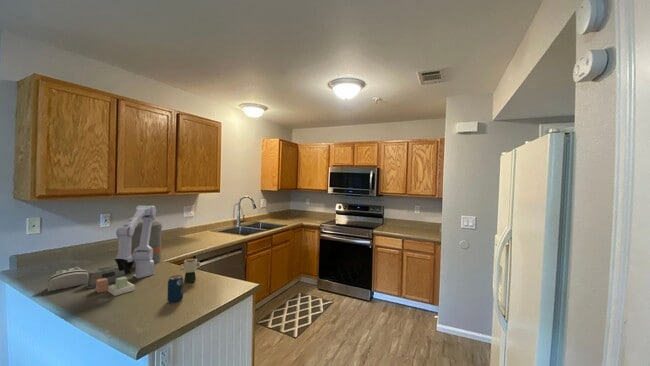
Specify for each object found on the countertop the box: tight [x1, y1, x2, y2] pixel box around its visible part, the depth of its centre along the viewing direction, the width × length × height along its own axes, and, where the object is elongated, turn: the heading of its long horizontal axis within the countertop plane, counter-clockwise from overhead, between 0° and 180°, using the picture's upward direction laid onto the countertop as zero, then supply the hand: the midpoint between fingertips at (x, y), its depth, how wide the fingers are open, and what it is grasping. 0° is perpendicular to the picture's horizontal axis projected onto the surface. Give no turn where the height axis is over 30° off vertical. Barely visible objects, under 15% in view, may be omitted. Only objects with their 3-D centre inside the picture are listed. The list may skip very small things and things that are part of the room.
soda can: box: [167, 274, 184, 304], centre depth 136 cm, size 7×7×12 cm
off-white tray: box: [107, 280, 136, 297], centre depth 146 cm, size 9×9×3 cm
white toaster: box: [55, 265, 82, 274], centre depth 164 cm, size 14×6×15 cm
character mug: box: [179, 258, 201, 284], centre depth 161 cm, size 11×7×13 cm, turn 123°
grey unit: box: [84, 265, 126, 289], centre depth 157 cm, size 18×6×8 cm, turn 147°
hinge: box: [47, 269, 88, 292], centre depth 149 cm, size 17×5×10 cm, turn 139°
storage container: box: [131, 218, 163, 269], centre depth 194 cm, size 22×22×35 cm
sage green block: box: [114, 275, 128, 290], centre depth 145 cm, size 4×4×6 cm
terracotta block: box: [95, 278, 109, 294], centre depth 145 cm, size 4×4×6 cm
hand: (124, 272), depth 148 cm, fingers open, 7 cm apart
